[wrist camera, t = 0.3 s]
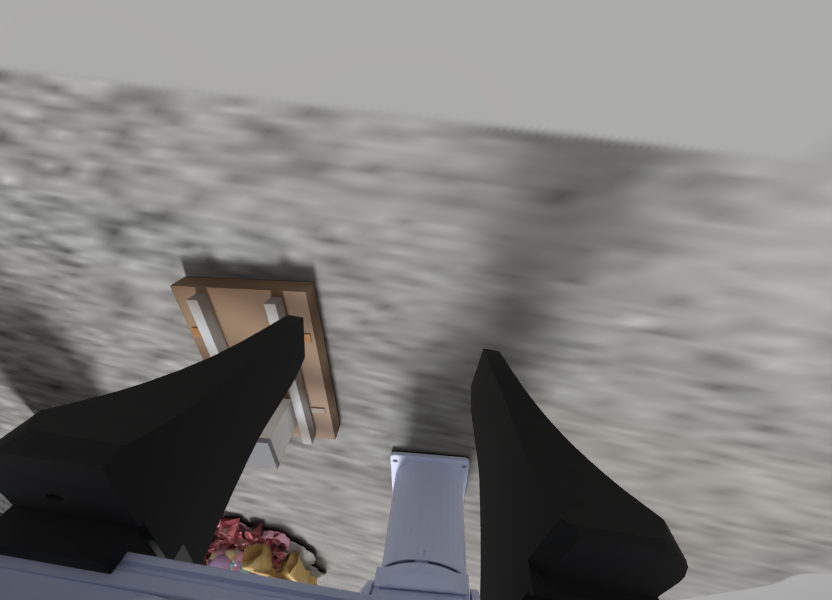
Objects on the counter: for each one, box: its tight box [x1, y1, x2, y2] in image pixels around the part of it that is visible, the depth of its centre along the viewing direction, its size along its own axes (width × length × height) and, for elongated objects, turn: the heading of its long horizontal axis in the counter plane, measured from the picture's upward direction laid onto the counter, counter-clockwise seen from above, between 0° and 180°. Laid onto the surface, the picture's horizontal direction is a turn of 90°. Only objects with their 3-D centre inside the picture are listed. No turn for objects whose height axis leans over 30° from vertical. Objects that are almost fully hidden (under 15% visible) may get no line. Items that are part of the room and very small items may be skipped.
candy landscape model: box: [202, 518, 326, 585], centre depth 45 cm, size 25×24×9 cm
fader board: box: [170, 277, 340, 444], centre depth 26 cm, size 16×10×2 cm, turn 0°
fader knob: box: [245, 398, 298, 469], centre depth 26 cm, size 3×4×4 cm
